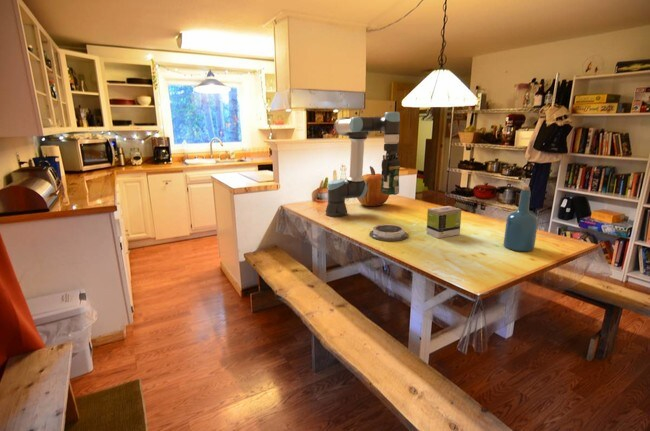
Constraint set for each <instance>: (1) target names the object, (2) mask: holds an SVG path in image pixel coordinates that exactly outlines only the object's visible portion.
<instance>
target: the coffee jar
mask: <svg viewBox="0 0 650 431" xmlns="http://www.w3.org/2000/svg"><path fill="white" fill-rule="evenodd" d="M382 165H383V159H382V160H381V165H380V167H381V168H382ZM388 166H389V174H388V176H389V188H383V186H384V175H382V182H381V193H383V194H388V195H389V196H390V195H391V196H393V195H394V196H395V195H398V194H400V169H401V160H399V159H398V160H397V159H392V161H391V160H389V161H388Z"/></svg>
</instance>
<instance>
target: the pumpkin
mask: <svg viewBox="0 0 650 431" xmlns="http://www.w3.org/2000/svg"><path fill="white" fill-rule="evenodd" d="M369 170H370V173H365V174H364V175H363V174H362V177H363V178H364V181H366V183H367V192H366V194H365V195H364V197H360V198H356V199H357V200H358V202H359V203H360V204H361V205H363V206H366V207H378V206H381V205H383V204H385V203H386V202H387V201H388V199H389V197H390V195H388V194H383V193H381V182H382V173H376V170H375V169H374V167H373V166H371V165H370V166H369Z"/></svg>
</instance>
